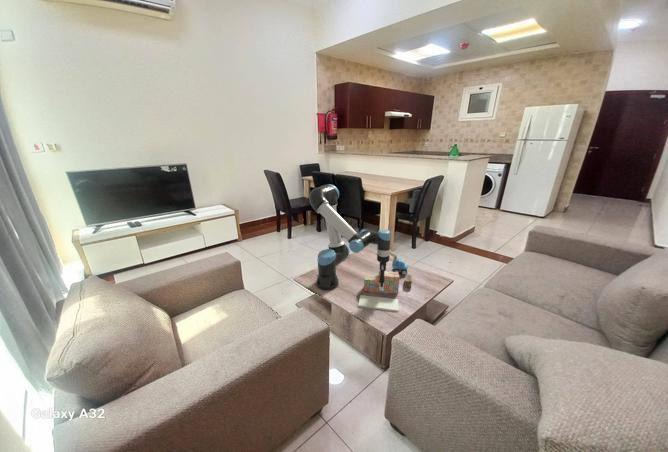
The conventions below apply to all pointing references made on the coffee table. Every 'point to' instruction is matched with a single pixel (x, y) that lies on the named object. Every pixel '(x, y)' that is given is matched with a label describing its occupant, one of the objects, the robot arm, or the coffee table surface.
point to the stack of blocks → (389, 282)
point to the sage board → (378, 303)
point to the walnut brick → (408, 281)
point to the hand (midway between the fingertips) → (382, 284)
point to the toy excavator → (399, 264)
